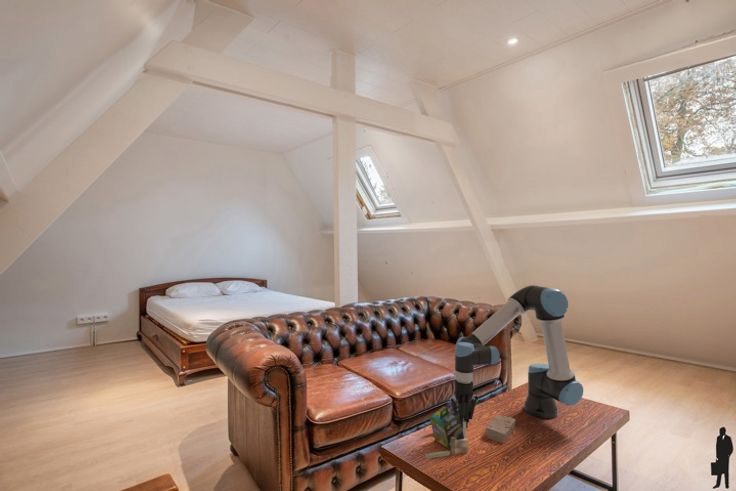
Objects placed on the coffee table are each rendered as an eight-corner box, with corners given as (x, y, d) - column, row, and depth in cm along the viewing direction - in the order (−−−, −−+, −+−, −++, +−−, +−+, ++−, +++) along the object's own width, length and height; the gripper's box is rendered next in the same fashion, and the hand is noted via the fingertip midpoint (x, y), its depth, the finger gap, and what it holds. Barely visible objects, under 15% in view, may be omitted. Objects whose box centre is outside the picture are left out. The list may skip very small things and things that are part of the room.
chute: (447, 430, 163) (447, 416, 163) (468, 452, 146) (468, 436, 146) (433, 432, 161) (433, 418, 161) (452, 455, 145) (452, 438, 145)
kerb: (448, 453, 146) (448, 450, 146) (449, 455, 145) (449, 452, 145) (425, 457, 143) (425, 454, 143) (426, 458, 142) (426, 455, 142)
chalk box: (449, 428, 160) (442, 398, 158) (465, 438, 152) (458, 406, 150) (433, 440, 155) (426, 409, 153) (449, 451, 148) (442, 418, 145)
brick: (504, 444, 153) (504, 433, 153) (484, 438, 158) (484, 427, 158) (515, 428, 167) (515, 418, 167) (496, 423, 172) (497, 413, 172)
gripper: (472, 375, 161) (471, 429, 161) (445, 378, 157) (444, 433, 157) (482, 382, 153) (481, 438, 153) (454, 384, 150) (453, 442, 150)
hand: (462, 435), depth 155 cm, fingers closed
